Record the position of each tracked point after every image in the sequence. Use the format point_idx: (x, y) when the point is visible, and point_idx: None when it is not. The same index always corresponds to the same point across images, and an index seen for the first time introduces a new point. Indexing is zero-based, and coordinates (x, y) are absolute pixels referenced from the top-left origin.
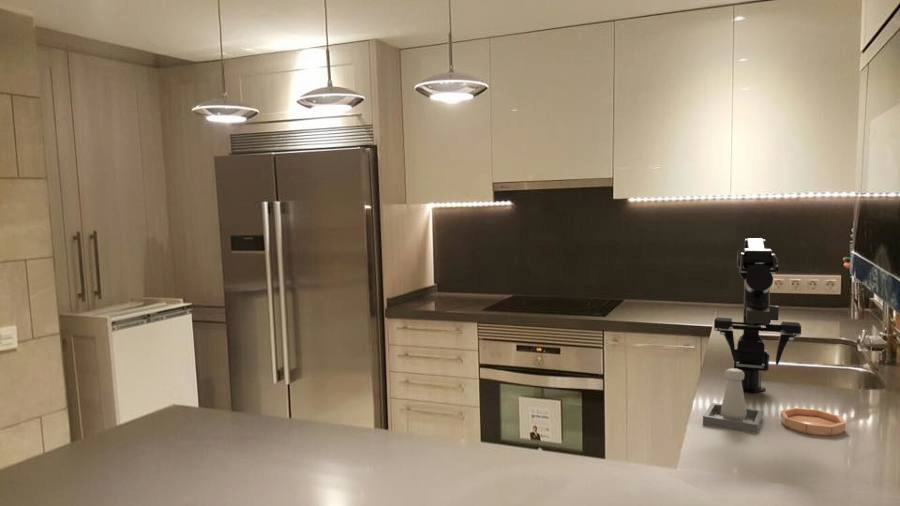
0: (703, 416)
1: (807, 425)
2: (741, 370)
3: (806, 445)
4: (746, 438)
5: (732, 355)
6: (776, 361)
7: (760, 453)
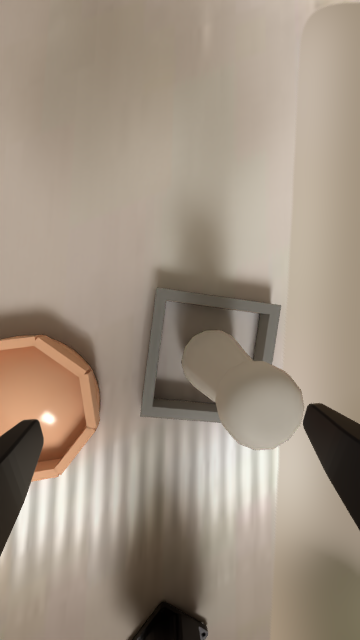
0: (279, 305)
1: (34, 336)
2: (237, 422)
3: (52, 249)
4: (180, 245)
5: (356, 424)
6: (23, 430)
7: (154, 155)
